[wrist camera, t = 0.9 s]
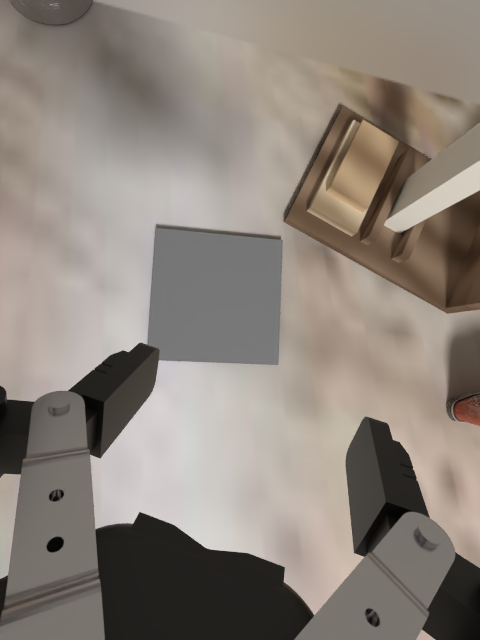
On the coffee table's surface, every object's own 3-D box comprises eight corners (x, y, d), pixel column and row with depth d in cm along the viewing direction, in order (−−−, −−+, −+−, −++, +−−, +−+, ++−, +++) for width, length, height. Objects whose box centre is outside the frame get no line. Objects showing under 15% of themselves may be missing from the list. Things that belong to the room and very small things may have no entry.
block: (398, 233, 40) (511, 173, 26) (381, 223, 39) (484, 157, 26) (415, 195, 40) (533, 116, 27) (398, 184, 40) (508, 100, 26)
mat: (156, 229, 36) (155, 227, 36) (281, 241, 38) (282, 240, 38) (147, 359, 35) (146, 359, 35) (276, 364, 37) (278, 364, 37)
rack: (447, 313, 41) (594, 294, 26) (283, 221, 39) (343, 144, 24) (491, 203, 43) (649, 129, 28) (339, 111, 41) (425, -23, 26)
